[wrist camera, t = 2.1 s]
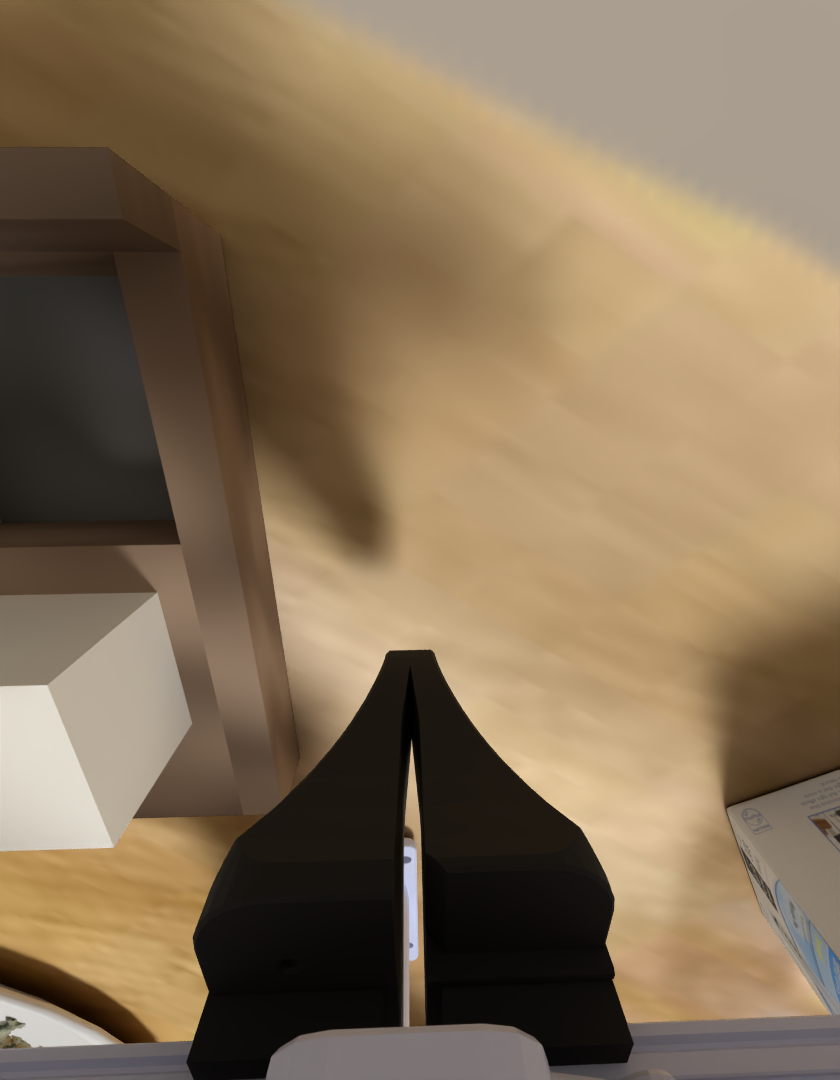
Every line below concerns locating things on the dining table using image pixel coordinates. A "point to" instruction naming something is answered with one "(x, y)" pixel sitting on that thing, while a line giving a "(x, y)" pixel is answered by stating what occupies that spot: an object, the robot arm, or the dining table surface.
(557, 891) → the robot arm
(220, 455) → the brown wooden tray
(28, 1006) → the plated food
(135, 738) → the cream block
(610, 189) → the dining table surface
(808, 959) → the light bulb box
